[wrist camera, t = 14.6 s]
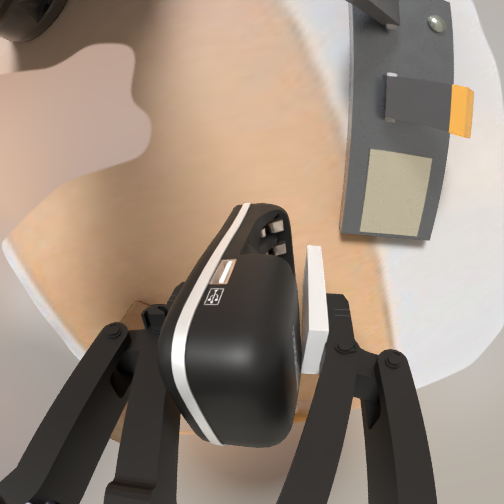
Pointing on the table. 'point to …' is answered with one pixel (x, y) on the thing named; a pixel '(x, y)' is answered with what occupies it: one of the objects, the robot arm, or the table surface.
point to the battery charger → (237, 334)
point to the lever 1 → (380, 11)
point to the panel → (399, 133)
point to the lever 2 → (430, 104)
